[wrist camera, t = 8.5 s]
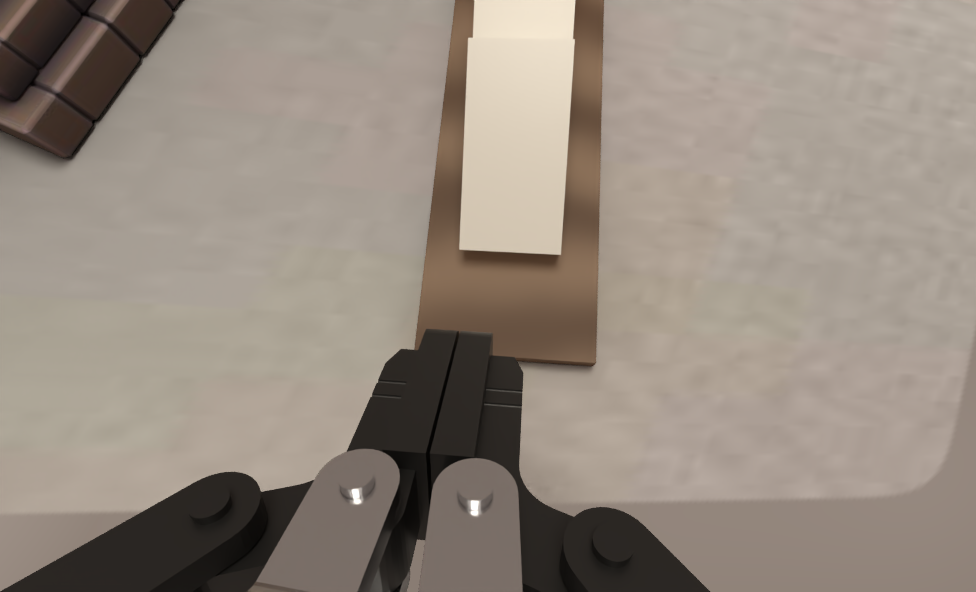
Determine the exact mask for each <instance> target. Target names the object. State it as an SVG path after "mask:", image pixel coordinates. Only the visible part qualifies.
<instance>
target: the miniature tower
mask: <svg viewBox="0 0 976 592" xmlns="http://www.w3.org/2000/svg"><path fill="white" fill-rule="evenodd" d="M179 1H180V0H0V129H1V130H3V131H4V132H6V133H8V134H11V135H13V136H15V137H17V138H20V139H22V140H24V141H26V142H29V143H31V144H33V145H35V146H38V147H40V148H42V149H44V150H47V151H49V152H51V153H53V154H56V155H58V156H60V157H63V158H65V157H70V156H71V155H72V154H73V152H74V151H75V150H76V148H77V147H78V145H79V144H80V143H81V141H82V140H83V138H84V137H85V136H86V134H87V133H88V131H89V130H90V129H91V127H92V126H93V125H92V120H97V119H98V118H99V116H100V115H101V114H102V112H103V111H104V109H105V108H106V107H107V105H108V104H109V103H110V101H111V100H112V98H113V97H114V96H115V94H116V93H117V91H118V90H119V89H120V87H121V86H122V84H123V83H124V82H125V80H126V79H127V78H128V76H129V75H130V73H131V72H132V71H133V69H134V68H135V66H136V65H137V64H138V62H139V60H140V59H139V55H144V54H145V53H146V51H147V50H148V48H149V47H150V46H151V44H152V43H153V41H154V40H155V39H156V37H157V36H158V34H159V33H160V32H161V30H162V29H163V27H164V26H165V25H166V23H167V22H168V21H169V19H170V18H171V16H172V15H173V11H172V9H174V8H175V7H176V5H177V4H178V3H179Z"/></svg>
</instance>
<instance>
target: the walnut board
mask: <svg viewBox="0 0 976 592" xmlns="http://www.w3.org/2000/svg"><path fill="white" fill-rule="evenodd" d="M603 14H604V0H575V15H574V30H573V39H575V45H574V61H573V76H572V91H571V107H570V122H569V138H568V153H567V168H566V184H565V199H564V214H563V230H562V245H561V255H554V254H535V253H515V252H495V251H476V250H459V243H460V219H461V196H462V172H463V148H464V125H465V101H466V78H467V54H468V38H473V22H474V0H455V8H454V17H453V25H452V34H451V42H450V51H449V60H448V68H447V77H446V85H445V94H444V102H443V111H442V119H441V128H440V136H439V145H438V153H437V162H436V170H435V179H434V188H433V196H432V205H431V213H430V222H429V230H428V239H427V247H426V256H425V264H424V273H423V281H422V290H421V299H420V307H419V316H418V324H417V333H416V341H415V350H418V349H419V346H420V343H421V341H422V338H423V335H424V332H425V330H426V329H441V330H455V331H459V334H460V331H472V332H487V333H493V355H494V356H508V357H515V359H516V361H527V362H541V363H556V364H570V365H585V366H593V365H594V364H595V363H596V336H597V290H598V244H599V198H600V152H601V106H602V60H603Z"/></svg>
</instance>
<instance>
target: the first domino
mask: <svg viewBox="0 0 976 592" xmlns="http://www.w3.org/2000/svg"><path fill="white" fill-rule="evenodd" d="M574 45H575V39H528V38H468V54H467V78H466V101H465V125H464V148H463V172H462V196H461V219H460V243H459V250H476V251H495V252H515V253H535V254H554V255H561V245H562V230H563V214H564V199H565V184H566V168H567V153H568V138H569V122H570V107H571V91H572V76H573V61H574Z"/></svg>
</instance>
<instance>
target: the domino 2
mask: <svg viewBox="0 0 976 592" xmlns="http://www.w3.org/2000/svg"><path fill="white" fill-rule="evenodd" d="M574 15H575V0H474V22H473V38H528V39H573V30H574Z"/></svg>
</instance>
